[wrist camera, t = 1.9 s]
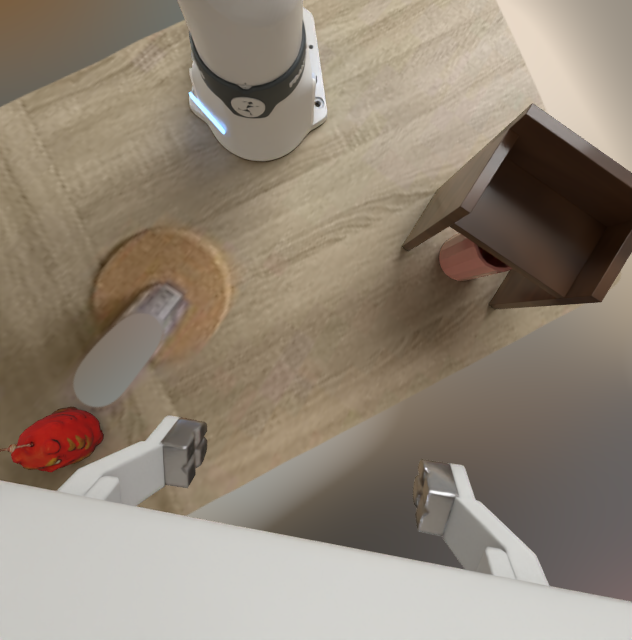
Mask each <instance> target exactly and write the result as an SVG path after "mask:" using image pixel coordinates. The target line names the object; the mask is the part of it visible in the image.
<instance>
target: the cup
mask: <svg viewBox="0 0 632 640" xmlns="http://www.w3.org/2000/svg"><path fill="white" fill-rule="evenodd" d="M439 261H440V265H441V268H442V270H443V271H444V273H445V274H446V275H447V276H449V277H450V278H452V279H454V280H458V281H468V280H472V279H476V278H480V277H484V276H488V275H493V274H497V273H501V272H505V271H508V270H511V269H512V268H511V267H509V266H508V265H506V264H505V263H503V262H502V261H500V260H499V259H497V258H496V257H494V256H493V255H491V254H490V253H488V252H487V251H486V250H484V249H483V248H481V247H480V246H478V245H477V244H475V243H474V242H472V241H471V240H469V239H468V238H466V237H465V236H463V235H462V234H460V233H458V234H456V235H454V236H452V237H451V238H450V239H448V240H447V241H446V242H445V243H444V244H443V246H442V248H441V250H440V254H439Z"/></svg>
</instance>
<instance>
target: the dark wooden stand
mask: <svg viewBox="0 0 632 640" xmlns="http://www.w3.org/2000/svg"><path fill="white" fill-rule="evenodd" d="M449 226H450V227H451V228H453V229H454V230H456V231H457V232H459V233H460V234H462V235H463V236H465V237H466V238H468V239H469V240H471V241H472V242H474V243H475V244H477V245H478V246H480V247H481V248H483V249H484V250H486V251H487V252H488V253H490V254H491V255H493V256H494V257H496V258H497V259H499V260H500V261H502V262H503V263H505V264H506V265H508V266H509V267H511V268H512V269H511V270H510V271H509V273H508V275H507V276H506V278H505V279H504V281H503V283H502V284H501V286H500V287H499V289H498V291H497V292H496V294H495V296H494V297H493V299H492V300H491V302H490V304H489V305H490V306H491V307H493V308H494V309H507V308H522V307H537V306H552V305H567V304H582V303H595V302H602V300H603V298H604V297H605V295H606V294H607V292H608V290H609V289H610V287H611V285H612V284H613V282H614V280H615V279H616V277H617V275H618V274H619V272H620V271H621V269H622V267H623V266H624V264H625V262H626V260H627V259H628V257H629V256H630V254H631V252H632V173H631V172H630V171H628V170H626V169H625V168H624V167H623V166H621V165H620V164H618V163H617V162H615V161H614V160H613V159H611V158H610V157H608V156H607V155H605V154H604V153H603V152H601V151H600V150H598V149H597V148H596V147H594V146H592V145H591V144H590V143H588V142H587V141H586V140H584V139H583V138H581V137H580V136H579V135H577V134H576V133H574V132H573V131H571V130H570V129H569V128H567V127H566V126H564V125H563V124H561V123H560V122H559V121H557V120H556V119H554V118H553V117H552V116H550V115H549V114H547V113H546V112H544V111H543V110H542V109H540V108H539V107H537V106H536V105H534V104H533V103H532V104H531V105H530V106H529V107H528V108H527V109H525V110H524V111H523V112H522V113H521V114H520V115H519V116H518V117H517V118H516V119H515V120H513V121H512V122H511V123H510V124H509V125H508V126H507V127H506V128H505V129H504V130H502V131H501V132H500V133H499V134H498V135H497V136H496V137H495V138H494V139H493V140H491V141H490V142H489V143H488V144H487V145H486V146H485V147H484V148H483V149H482V150H481V151H479V152H478V153H477V154H476V155H475V156H474V157H473V158H472V159H471V160H470V161H468V162H467V163H466V164H465V165H464V166H463V167H462V168H461V169H460V170H459V171H457V172H456V173H455V174H454V175H453V176H452V177H451V178H450V179H449V180H448V181H446V182H445V183H444V184H443V185H442V186H441V187H440V188H439V189H438V190H437V192H436V193H435V195H434V196H433V198H432V200H431V201H430V203H429V204H428V206H427V207H426V209H425V211H424V212H423V214H422V215H421V217H420V218H419V220H418V222H417V223H416V225H415V226H414V228H413V229H412V231H411V233H410V234H409V236H408V237H407V239H406V240H405V242H404V244H403V245H402V247H403V248H404V249H406V250H407V251H409V250H411V249H413V248H414V247H416V246H418V245H419V244H421V243H423V242H424V241H426V240H427V239H429V238H431V237H432V236H434V235H436V234H437V233H439V232H441V231H442V230H444V229H445V228H447V227H449Z"/></svg>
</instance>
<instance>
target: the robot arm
mask: <svg viewBox="0 0 632 640" xmlns="http://www.w3.org/2000/svg"><path fill="white" fill-rule="evenodd" d="M177 2H178V4H179V6H180V8H181V11H182V13H183V15H184V18H185V20H186V23H187V25H188V28H189V37H190V43H191V50H192V51H191V58H192V61H193V65H192V67H191V68H190V69H189V72H190V78H191V81H192V84H193V86H192V90H191V92H190V93H189V95H190V97H189V104H190V108H191V110H192V111H193V112H194V113H195V114H196V115H197V116H198V117H199V118H201V119H202V120H203V121H205V122H206V123H207V124H208V126H209V127H210V129H211V130H212V132H213V134H214V135H215V137H216V138H217V140H218V141H219V142H220V143H221V144H222V145H223V146H224V147H225V148H226V149H227V150H229V151H230V152H232V153H233V154H235V155H237V156H239V157H241V158H244V159H248V160H253V161H269V160H274V159H277V158H280V157H282V156H284V155H286V154H288V153H289V152H291V151H292V150H293V149H295V148H296V147H297V146H298V145H299V144H300V142H301V141H302V140H303V139H304V137H305V136H306V135H307V133H308V132H309V131H311V130H313V129H314V128H316V127H318V126H320V125H321V124H323V123H324V122H325V121H326V119H327V106H326V99H325V92H324V85H323V79H322V72H321V65H320V58H319V51H318V45H317V38H316V31H315V24H314V18H313V15H312V14H311V13H310V12H309V11H308V10H307V9H305V8H304V7H303V0H177ZM315 104H319V105H320V107H316V106H315ZM206 432H207V424H206V422H202V421H197V420H192V419H187V418H182V417H181V418H180V417H176V416H171V415H168V416H166V417H165V418H164V419H163V420H162V422H161V423H160V424H159V425H158V426H157V428H156V429H155V430H154V431H153V432H152V434H151V435H150V436H149V437H148V438H147V440H146V441H145V442H144V441H140V442H138V443H136V444H133V445H131V446H129V447H127V448H124V449H122V450H120V451H118V452H115V453H113V454H111V455H109V456H106V457H104V458H102V459H99V460H97V461H95V462H93V463H90V464H88V465H86V466H84V467H81V468H79V469H78V470H77V471H76V472H75V473H74V474H73V475H72V476H71V477H70V478H69V479H68V480H67V481H66V482H65V483H64V484H63V485H62V486H61V487H60V488H59V489H58V490H57V491H53V490H48V489H43V488H38V487H33V486H28V485H22V484H17V483H12V482H7V481H2V480H0V640H632V602H631V601H625V600H620V599H615V598H609V597H605V596H599V595H594V594H589V593H584V592H578V591H573V590H568V589H562V588H558V587H552V586H549V584H548V582H547V580H546V577H545V575H544V572H543V570H542V568H541V566H540V563H539V561H538V559H537V557H536V555H535V554H534V553H533V552H532V551H531V550H530V549H529V548H528V547H527V546H526V545H525V544H524V543H523V542H522V541H521V540H520V539H519V538H518V537H517V536H516V535H515V534H514V533H512V532H511V531H510V530H509V529H508V528H507V527H506V526H505V525H504V524H503V523H502V522H501V521H500V520H499V519H498V518H497V517H496V516H495V515H494V514H493V513H492V512H491V511H489V510H488V509H487V508H486V507H485V506H484V505H483V504H482V503H481V502H480V501H476V500H475V497H474V494H473V491H472V488H471V485H470V482H469V479H468V476H467V473H466V470H465V467H464V466H463V465H457V464H450V463H449V464H447V463H442V462H436V461H430V460H423V459H421V460H420V462H419V466H418V471H419V475H417V476H416V477H415V482H414V487H413V500H414V505H415V506H416V507H417V511H416V522H417V528H418V531H420V532H424V533H429V534H434V535H439V536H443V537H442V538H443V539H444V541H445V542H446V543H447V545H448V546H449V548H450V549H451V551H452V552H453V553H454V555H455V556H456V558H457V559H458V561H459V562H460V563H461V564H462V566H463V568H464V569H465V570H464V569H459V568H454V567H448V566H443V565H438V564H433V563H427V562H422V561H416V560H411V559H406V558H401V557H396V556H391V555H386V554H380V553H375V552H369V551H365V550H360V549H355V548H350V547H344V546H339V545H334V544H329V543H323V542H318V541H313V540H308V539H302V538H298V537H292V536H287V535H282V534H276V533H271V532H266V531H261V530H256V529H250V528H245V527H239V526H235V525H230V524H224V523H219V522H214V521H209V520H203V519H198V518H193V517H188V516H183V515H178V514H173V513H167V512H162V511H157V510H152V509H147V508H142V507H136V506H137V505H138V504H140V503H141V502H142V501H144V500H145V499H147V498H148V497H150V496H151V495H153V494H154V493H155V492H157V491H158V490H160V489H161V488H163V487H164V486H165V485H171V486H177V487H183V488H188V486H189V485H190V483H191V481H192V480H193V478H194V476H195V468H197V467H199V466H201V464H202V462H203V460H204V457H205V454H206V450H207V440H206V438H205V437H204V435H205V434H206Z"/></svg>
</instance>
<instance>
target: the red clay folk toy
mask: <svg viewBox="0 0 632 640" xmlns="http://www.w3.org/2000/svg"><path fill="white" fill-rule="evenodd" d="M103 437H104V434H103V433H102V430H100V423H99V421H98V420H97V419H96V418H95V417H94V416H93V415H92V414H90V413H88V412H86V411H83V410H78V409H77V408H75V407H68V408H62V409H58V410H57V411H55V412H53V413H52V414H51V415H49V416H46V417H45V418H43V419H41V420H38V421H37V422H35V423H34V424H33V425H32V426H30V427H28V428H27V429H26V430H25V431H24V432H23V433H22V434H21V435H20V437H19V440H18V443H17V445H16V444H11V445H10V446H9V448H4V449H0V451H5V450H8V452H10V453H12V454H11V456H12V460H13V462H15V463H17V464H18V463H20V464H21V465H22V466H23V467H24V468H26V469H30V470H33V469H38V470H40V471H47V472H53V471H55V470H57V469H58V468H61V467H65V466H67V465H69V464H74V463H77V462H79V461H81V460H83V459H84V458H86V457H88V456H90V454H91V453H92V452H93V451H94V449H95V446H96V445H98V444H99V443H101V442H102V440H103Z"/></svg>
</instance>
